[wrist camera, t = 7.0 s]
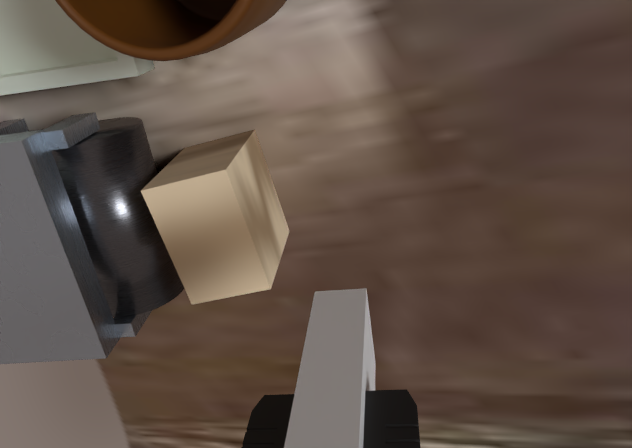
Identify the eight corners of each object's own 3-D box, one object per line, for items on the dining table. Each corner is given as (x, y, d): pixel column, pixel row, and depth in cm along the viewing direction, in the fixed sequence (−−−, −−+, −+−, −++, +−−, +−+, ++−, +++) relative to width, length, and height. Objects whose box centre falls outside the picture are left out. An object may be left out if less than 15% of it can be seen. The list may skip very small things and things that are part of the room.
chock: (184, 147, 29) (140, 190, 23) (254, 129, 28) (225, 169, 23) (223, 245, 31) (191, 304, 26) (289, 230, 30) (270, 289, 25)
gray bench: (-3, 114, 29) (-108, 157, 23) (151, 93, 28) (85, 132, 21) (67, 288, 34) (-4, 364, 27) (202, 278, 32) (160, 355, 26)
